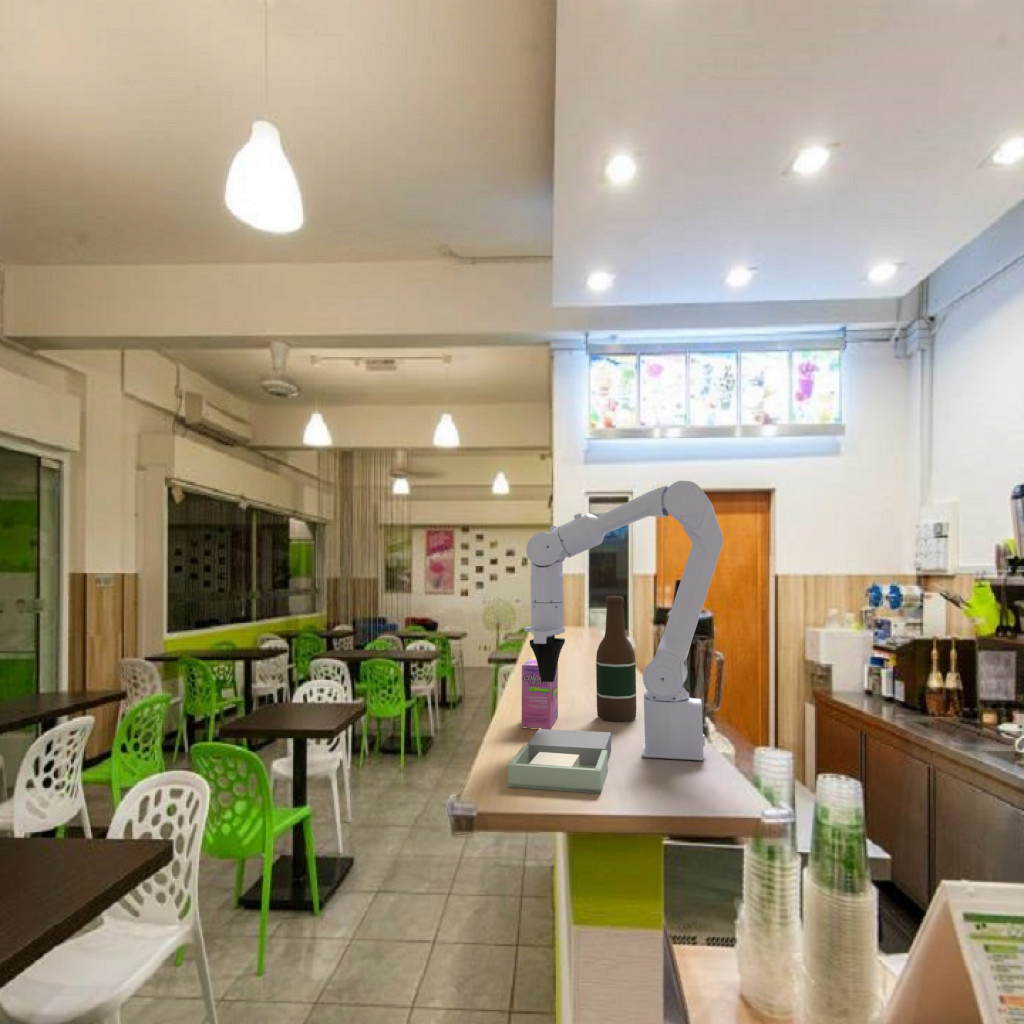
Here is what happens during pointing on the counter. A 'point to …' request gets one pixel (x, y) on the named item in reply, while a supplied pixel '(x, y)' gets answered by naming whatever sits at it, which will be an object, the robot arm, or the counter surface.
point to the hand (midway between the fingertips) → (547, 681)
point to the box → (538, 697)
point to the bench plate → (571, 744)
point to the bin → (557, 774)
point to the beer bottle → (615, 668)
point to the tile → (556, 759)
